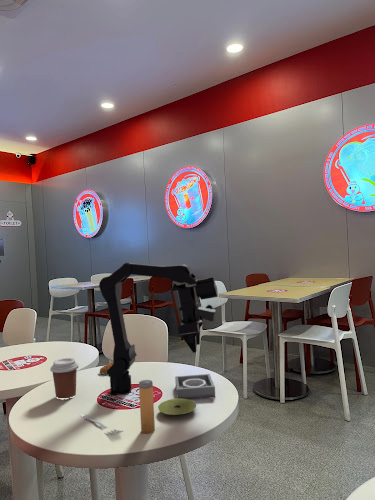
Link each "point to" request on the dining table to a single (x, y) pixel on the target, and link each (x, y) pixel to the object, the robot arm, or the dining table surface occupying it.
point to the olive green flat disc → (177, 406)
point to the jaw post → (146, 406)
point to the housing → (194, 386)
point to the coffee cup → (64, 377)
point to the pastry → (105, 368)
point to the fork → (102, 426)
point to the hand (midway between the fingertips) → (196, 348)
